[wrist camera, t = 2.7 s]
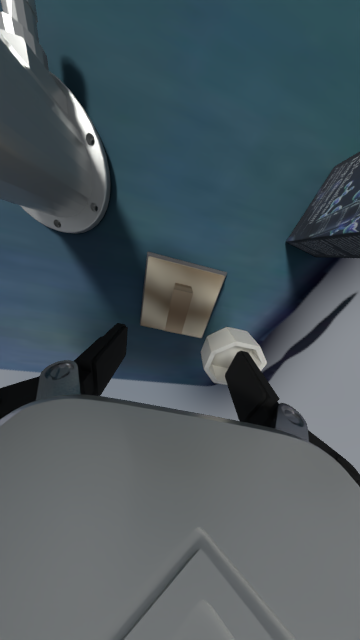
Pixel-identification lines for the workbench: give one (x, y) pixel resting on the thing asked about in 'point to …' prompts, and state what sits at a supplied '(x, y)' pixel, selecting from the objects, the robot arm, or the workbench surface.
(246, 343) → the bowl
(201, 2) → the workbench surface
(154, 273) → the beige plate with ridge
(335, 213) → the box
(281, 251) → the workbench surface
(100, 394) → the robot arm
